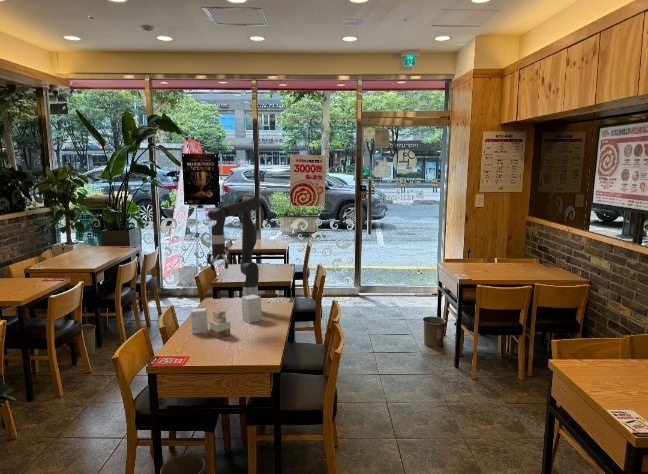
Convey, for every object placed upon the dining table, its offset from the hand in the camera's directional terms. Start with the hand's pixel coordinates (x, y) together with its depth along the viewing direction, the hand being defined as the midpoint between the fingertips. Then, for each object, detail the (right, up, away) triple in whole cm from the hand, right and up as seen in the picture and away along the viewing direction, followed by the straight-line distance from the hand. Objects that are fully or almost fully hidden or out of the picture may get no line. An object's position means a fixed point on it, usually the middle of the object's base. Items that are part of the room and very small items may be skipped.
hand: (219, 269), depth 267 cm
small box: (-9, -35, -9) cm, 37 cm away
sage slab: (+4, -31, -15) cm, 35 cm away
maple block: (+4, -28, -16) cm, 32 cm away
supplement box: (+18, -32, +10) cm, 38 cm away
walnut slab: (+4, -35, -15) cm, 39 cm away
